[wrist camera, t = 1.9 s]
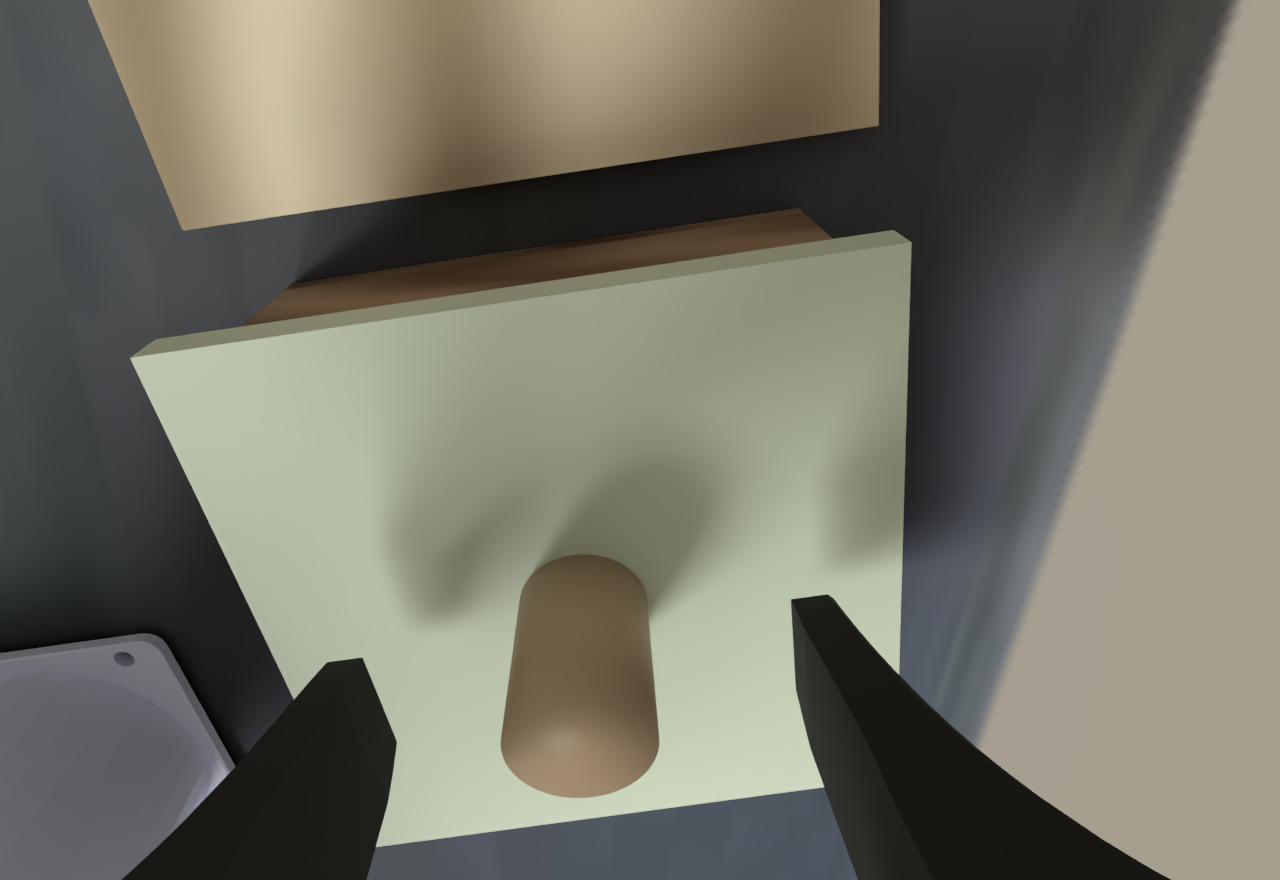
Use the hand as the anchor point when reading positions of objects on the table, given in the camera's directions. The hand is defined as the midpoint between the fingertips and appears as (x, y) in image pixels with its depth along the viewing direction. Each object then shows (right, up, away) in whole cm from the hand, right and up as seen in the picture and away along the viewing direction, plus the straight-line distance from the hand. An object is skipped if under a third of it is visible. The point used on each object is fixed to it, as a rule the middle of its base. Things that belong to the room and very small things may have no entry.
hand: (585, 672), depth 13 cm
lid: (0, +1, +2) cm, 3 cm away
